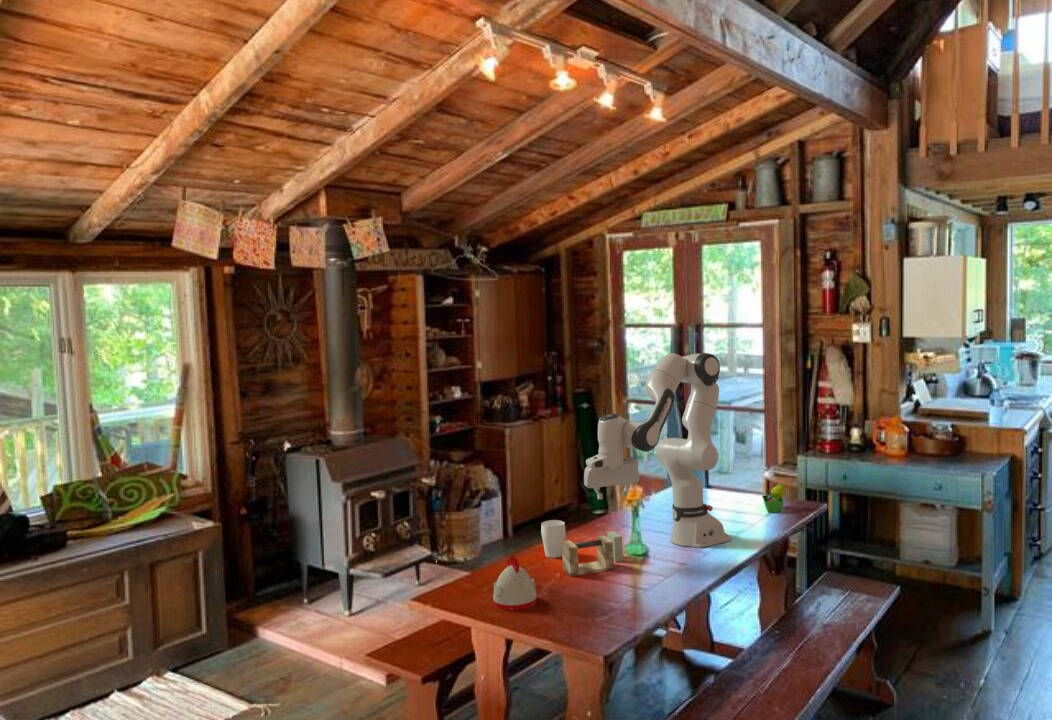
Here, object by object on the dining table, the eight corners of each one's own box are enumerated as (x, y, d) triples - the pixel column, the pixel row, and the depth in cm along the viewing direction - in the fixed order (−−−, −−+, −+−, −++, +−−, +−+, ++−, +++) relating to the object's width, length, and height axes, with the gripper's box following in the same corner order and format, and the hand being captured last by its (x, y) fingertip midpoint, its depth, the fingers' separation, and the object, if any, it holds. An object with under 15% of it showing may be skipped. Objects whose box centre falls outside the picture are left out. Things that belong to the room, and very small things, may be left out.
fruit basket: (761, 506, 366) (761, 480, 365) (783, 506, 365) (782, 480, 364) (765, 513, 355) (764, 487, 354) (787, 513, 354) (787, 486, 353)
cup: (564, 559, 311) (563, 527, 310) (540, 558, 313) (538, 526, 312) (568, 551, 320) (566, 520, 319) (544, 551, 321) (543, 519, 320)
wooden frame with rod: (605, 562, 305) (604, 535, 304) (614, 569, 297) (612, 541, 296) (563, 569, 300) (561, 541, 299) (570, 576, 293) (569, 547, 292)
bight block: (615, 555, 313) (614, 531, 312) (623, 560, 306) (622, 536, 305) (608, 556, 312) (607, 532, 311) (615, 561, 305) (614, 537, 304)
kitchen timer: (503, 613, 263) (500, 566, 262) (487, 599, 276) (484, 554, 274) (544, 604, 269) (541, 558, 267) (526, 591, 281) (524, 546, 280)
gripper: (634, 455, 311) (636, 492, 313) (581, 460, 306) (583, 498, 307) (641, 458, 305) (642, 496, 307) (587, 464, 300) (589, 502, 301)
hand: (612, 497), depth 307 cm, fingers open, 8 cm apart
